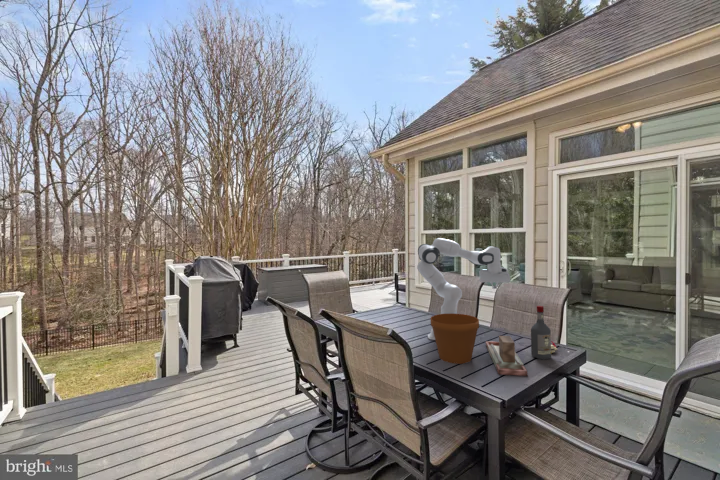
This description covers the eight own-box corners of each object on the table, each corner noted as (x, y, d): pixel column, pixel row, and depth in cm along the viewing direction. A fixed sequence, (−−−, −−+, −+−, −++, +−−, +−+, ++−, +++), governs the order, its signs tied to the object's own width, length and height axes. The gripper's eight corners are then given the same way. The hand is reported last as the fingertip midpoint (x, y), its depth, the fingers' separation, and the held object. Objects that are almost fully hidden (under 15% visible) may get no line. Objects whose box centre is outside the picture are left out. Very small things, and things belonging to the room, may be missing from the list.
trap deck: (498, 374, 175) (498, 366, 175) (485, 344, 222) (485, 339, 222) (527, 376, 172) (527, 368, 172) (508, 346, 219) (508, 339, 219)
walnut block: (503, 362, 184) (502, 342, 184) (499, 354, 196) (498, 335, 196) (515, 362, 183) (514, 342, 182) (510, 354, 194) (509, 336, 194)
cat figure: (534, 343, 226) (541, 353, 203) (533, 330, 227) (541, 338, 203) (550, 344, 223) (560, 354, 200) (550, 331, 224) (559, 339, 200)
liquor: (529, 354, 202) (528, 305, 202) (541, 353, 204) (540, 304, 204) (540, 360, 193) (539, 308, 193) (553, 358, 195) (552, 307, 195)
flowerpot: (465, 348, 216) (464, 312, 216) (489, 364, 189) (488, 323, 189) (424, 351, 212) (423, 315, 211) (443, 368, 184) (442, 326, 184)
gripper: (479, 269, 235) (479, 289, 235) (510, 269, 230) (510, 289, 231) (478, 268, 241) (478, 287, 241) (508, 268, 237) (508, 288, 237)
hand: (494, 288), depth 236 cm, fingers closed
